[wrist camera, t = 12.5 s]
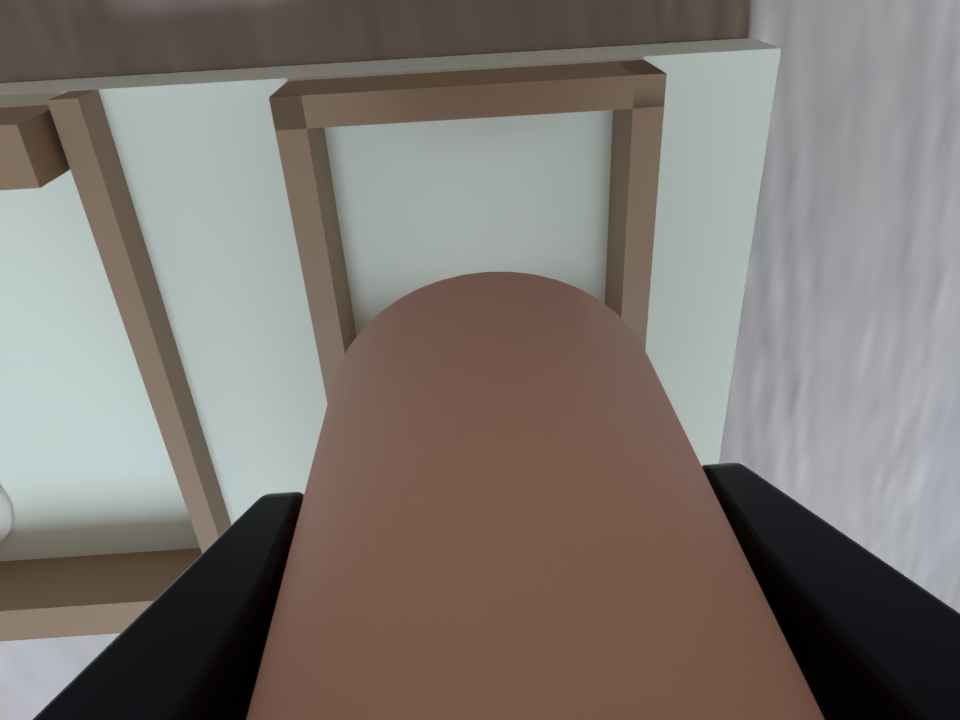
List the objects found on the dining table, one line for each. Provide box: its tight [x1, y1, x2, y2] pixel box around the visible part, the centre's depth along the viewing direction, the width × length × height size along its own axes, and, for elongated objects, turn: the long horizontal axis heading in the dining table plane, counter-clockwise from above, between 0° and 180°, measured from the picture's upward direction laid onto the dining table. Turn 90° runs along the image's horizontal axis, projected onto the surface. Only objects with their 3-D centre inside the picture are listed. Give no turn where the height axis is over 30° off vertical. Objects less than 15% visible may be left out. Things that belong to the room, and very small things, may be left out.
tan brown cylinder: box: [246, 272, 825, 720], centre depth 6 cm, size 4×4×7 cm
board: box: [0, 38, 781, 641], centre depth 15 cm, size 12×24×3 cm, turn 93°
